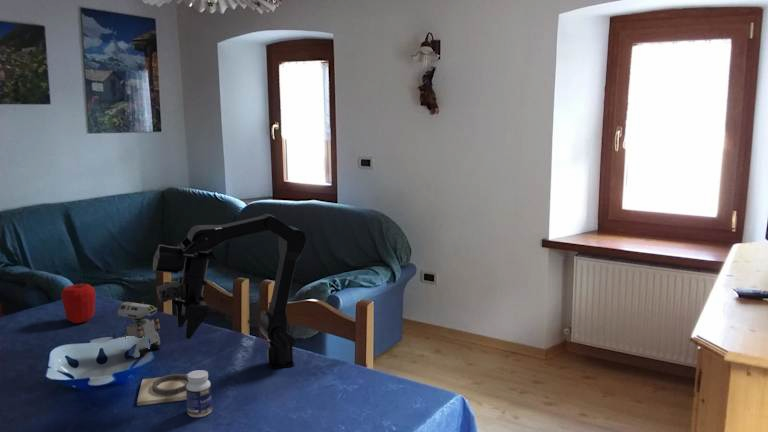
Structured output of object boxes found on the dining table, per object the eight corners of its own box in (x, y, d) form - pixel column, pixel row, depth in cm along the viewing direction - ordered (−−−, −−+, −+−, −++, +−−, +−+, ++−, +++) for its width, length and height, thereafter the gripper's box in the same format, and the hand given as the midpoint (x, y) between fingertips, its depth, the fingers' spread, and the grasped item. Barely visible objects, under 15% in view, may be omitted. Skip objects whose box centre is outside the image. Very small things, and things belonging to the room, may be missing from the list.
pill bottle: (205, 419, 148) (202, 380, 146) (183, 417, 149) (180, 378, 147) (216, 407, 153) (214, 369, 151) (195, 405, 154) (192, 367, 152)
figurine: (138, 342, 194) (134, 296, 191) (165, 349, 189) (161, 301, 186) (113, 353, 186) (109, 305, 183) (141, 360, 181) (137, 311, 178)
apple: (88, 326, 207) (84, 287, 205) (58, 326, 208) (53, 287, 205) (103, 315, 218) (99, 278, 215) (73, 315, 218) (70, 278, 215)
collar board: (205, 375, 171) (204, 368, 170) (204, 397, 158) (204, 389, 158) (142, 382, 167) (142, 375, 166) (137, 405, 154) (136, 397, 154)
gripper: (155, 263, 166) (145, 320, 167) (169, 281, 150) (158, 344, 151) (197, 267, 171) (187, 322, 172) (215, 284, 155) (204, 345, 157)
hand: (183, 332), depth 163 cm, fingers open, 9 cm apart
